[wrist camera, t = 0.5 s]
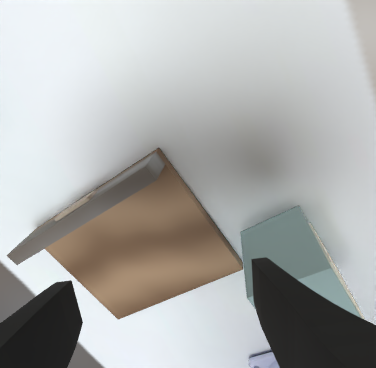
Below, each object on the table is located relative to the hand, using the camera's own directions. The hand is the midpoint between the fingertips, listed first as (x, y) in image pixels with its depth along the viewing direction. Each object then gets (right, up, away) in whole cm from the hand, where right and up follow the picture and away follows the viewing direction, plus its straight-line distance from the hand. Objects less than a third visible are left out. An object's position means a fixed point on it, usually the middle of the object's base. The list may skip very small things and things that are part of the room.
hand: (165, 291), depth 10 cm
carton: (+8, -1, +9) cm, 12 cm away
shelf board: (-3, -1, +11) cm, 11 cm away
